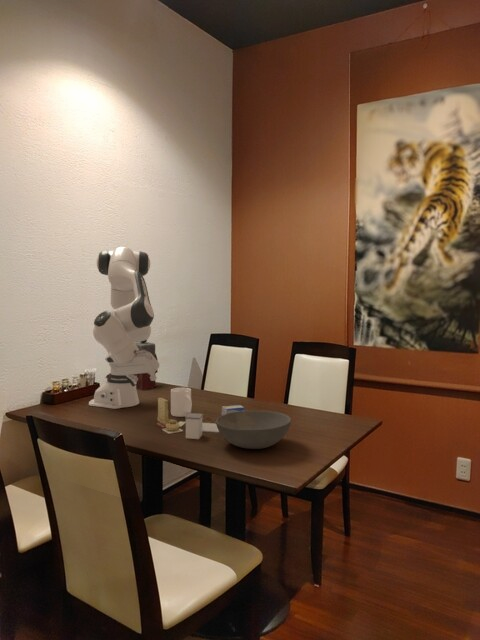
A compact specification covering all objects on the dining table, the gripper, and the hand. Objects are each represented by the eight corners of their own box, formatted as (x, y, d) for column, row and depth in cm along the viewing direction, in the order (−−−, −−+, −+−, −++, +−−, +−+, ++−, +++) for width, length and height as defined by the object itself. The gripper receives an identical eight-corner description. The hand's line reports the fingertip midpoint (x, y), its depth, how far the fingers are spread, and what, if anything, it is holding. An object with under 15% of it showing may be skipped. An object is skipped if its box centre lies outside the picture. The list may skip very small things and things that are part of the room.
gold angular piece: (181, 429, 198) (181, 404, 197) (169, 431, 195) (169, 406, 194) (165, 421, 209) (165, 397, 208) (154, 423, 206) (153, 398, 205)
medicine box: (225, 431, 198) (226, 408, 197) (220, 427, 202) (221, 405, 201) (243, 429, 201) (245, 407, 200) (238, 425, 205) (239, 404, 204)
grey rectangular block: (185, 438, 190) (185, 417, 189) (189, 433, 195) (189, 413, 194) (199, 439, 189) (199, 417, 188) (202, 434, 194) (203, 413, 193)
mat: (193, 431, 198) (193, 430, 198) (199, 423, 208) (199, 422, 208) (218, 432, 196) (218, 431, 196) (224, 425, 206) (224, 424, 206)
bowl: (233, 463, 166) (233, 433, 165) (205, 438, 190) (205, 412, 189) (304, 452, 176) (305, 424, 175) (269, 430, 200) (269, 405, 199)
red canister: (159, 386, 271) (159, 334, 269) (141, 390, 263) (140, 335, 261) (149, 384, 278) (149, 332, 275) (131, 387, 270) (131, 334, 267)
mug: (182, 420, 212) (182, 394, 211) (166, 413, 221) (166, 389, 220) (199, 416, 218) (199, 391, 217) (183, 410, 227) (183, 386, 226)
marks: (146, 432, 196) (146, 431, 196) (160, 420, 211) (160, 420, 211) (179, 434, 194) (179, 433, 194) (191, 422, 209) (191, 422, 209)
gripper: (151, 343, 181) (170, 372, 188) (111, 348, 193) (130, 376, 199) (142, 355, 177) (161, 384, 183) (101, 359, 188) (121, 387, 195)
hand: (145, 380), depth 191 cm, fingers open, 8 cm apart
